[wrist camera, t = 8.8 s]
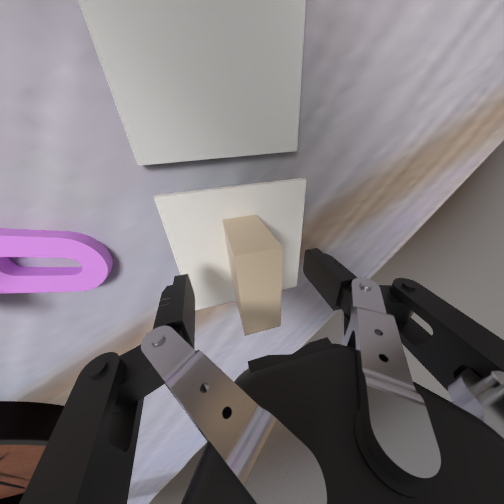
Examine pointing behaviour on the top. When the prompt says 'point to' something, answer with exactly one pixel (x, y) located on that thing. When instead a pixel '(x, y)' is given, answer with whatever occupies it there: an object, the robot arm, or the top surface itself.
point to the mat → (202, 74)
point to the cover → (238, 245)
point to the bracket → (51, 245)
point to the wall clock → (23, 444)
